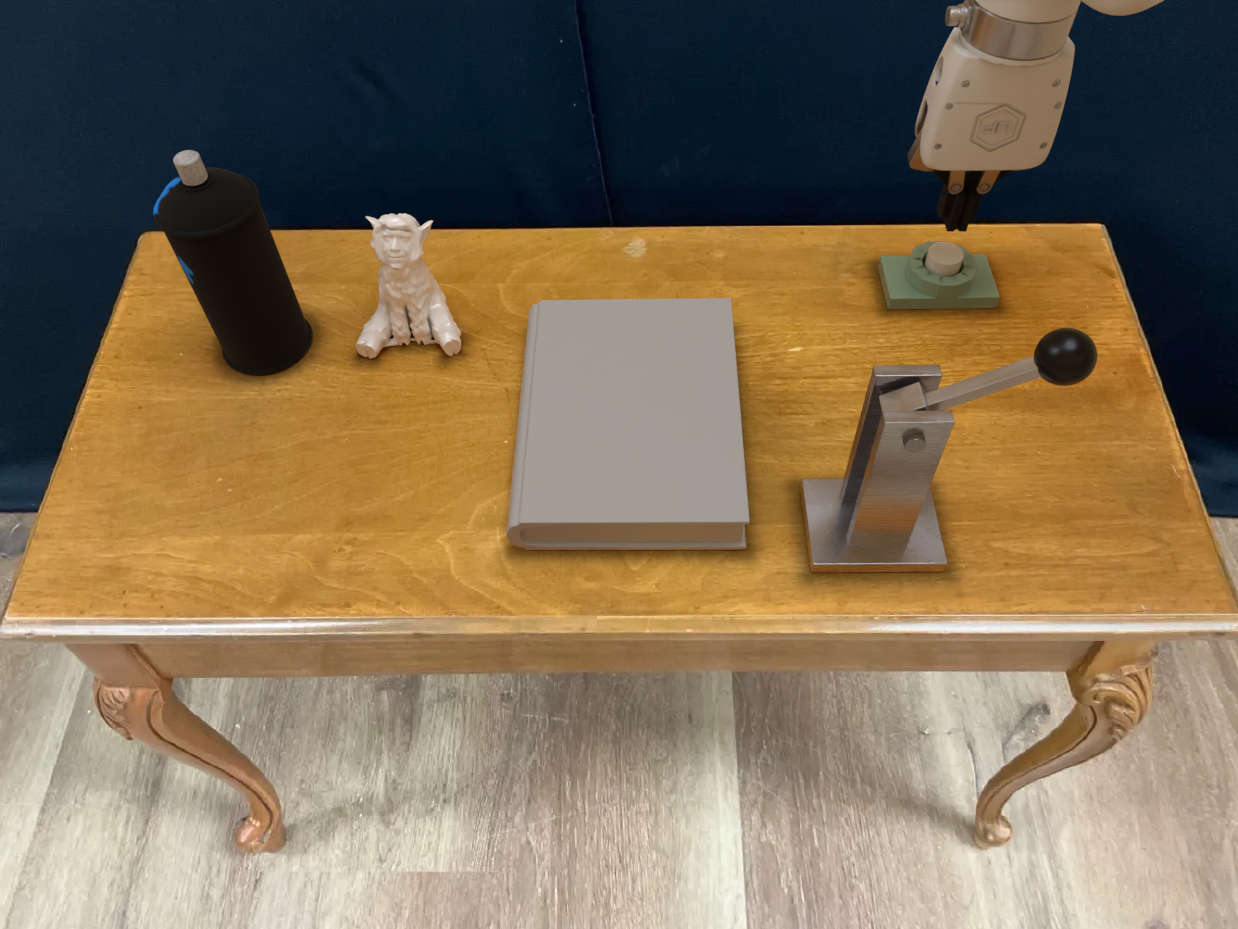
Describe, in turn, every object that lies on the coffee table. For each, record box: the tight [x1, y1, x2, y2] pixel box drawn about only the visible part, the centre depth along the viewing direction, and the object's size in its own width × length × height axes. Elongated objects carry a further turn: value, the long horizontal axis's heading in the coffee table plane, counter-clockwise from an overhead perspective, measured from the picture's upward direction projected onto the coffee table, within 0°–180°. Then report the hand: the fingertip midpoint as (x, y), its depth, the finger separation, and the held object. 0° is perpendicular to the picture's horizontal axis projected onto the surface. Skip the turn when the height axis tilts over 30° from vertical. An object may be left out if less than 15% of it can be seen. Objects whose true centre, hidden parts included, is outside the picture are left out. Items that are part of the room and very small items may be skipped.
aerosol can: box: [152, 149, 313, 376], centre depth 81 cm, size 8×8×20 cm
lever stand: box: [799, 364, 956, 573], centre depth 69 cm, size 10×8×16 cm
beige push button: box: [925, 241, 964, 277], centre depth 89 cm, size 3×3×2 cm
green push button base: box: [877, 240, 1001, 310], centre depth 90 cm, size 10×6×3 cm, turn 89°
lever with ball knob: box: [879, 327, 1098, 413], centre depth 62 cm, size 13×4×4 cm, turn 90°
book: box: [505, 297, 750, 551], centre depth 80 cm, size 18×4×24 cm
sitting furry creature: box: [354, 212, 462, 360], centre depth 85 cm, size 10×9×12 cm
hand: (953, 221), depth 86 cm, fingers closed
